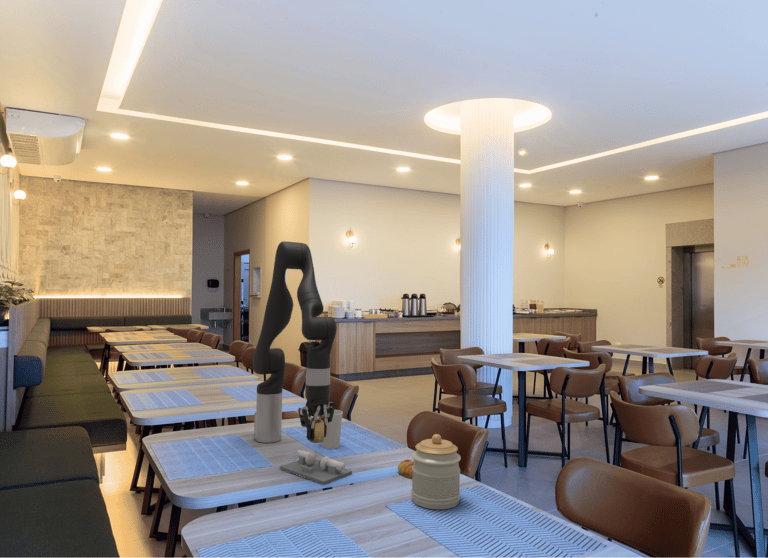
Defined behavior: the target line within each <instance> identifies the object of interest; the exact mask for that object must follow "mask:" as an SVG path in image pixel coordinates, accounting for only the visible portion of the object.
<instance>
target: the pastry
mask: <svg viewBox="0 0 768 558" xmlns="http://www.w3.org/2000/svg"><path fill="white" fill-rule="evenodd" d="M413 465H414V460H413V461H412V460H411V459H408V458H407V459H404V460H402V461H400V463H399V464H398V465H397V471H398V473H399V474H400V476H403V477H405V478H407V479H410V480H412V466H413Z"/></svg>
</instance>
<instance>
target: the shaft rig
mask: <svg viewBox="0 0 768 558" xmlns="http://www.w3.org/2000/svg"><path fill="white" fill-rule="evenodd" d="M296 457H297V458H298V460H296V461H292V462H289V463H286V464H283V465H280V466H279V470H280V469H281V471H283V470H284V471H283V472H285V471H287V472H286V473H288V472H291V473H294V474H297V475H300V476H302V477H305V478H308V479H310V480H309V481H311V480H312V481H311V482H314V483H317V484H320V485H322V486H325V485H327V484H330V483H333V482H335V481H338V480H340V479H343V478H346V477H348V476H351V475H353V470H351V469H349V468H348V469H347V468H345V467H346V465H345V463H344V462H341V461H339V460H335V459H332V458H330V457H329V456H323V457H322V458H321V459H319V460H318V459H317V455H316V453H315V452H314V451H305V450H303V449H299V450H297V452H296ZM291 473H290V474H291ZM294 474H293V475H294ZM297 475H296V476H297ZM300 476H299V477H300ZM302 477H301V478H302ZM305 478H304V479H305ZM308 479H307V480H308Z"/></svg>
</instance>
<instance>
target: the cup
mask: <svg viewBox="0 0 768 558" xmlns="http://www.w3.org/2000/svg"><path fill="white" fill-rule="evenodd" d="M343 414H344V413H343V411H342V410H339V409H335V410H334V414H333V419H332V422H329V423H328V425H327V434H326V437H324V441H323V442H321V447H322V448H323V449H327V448H328V449H329V450H331V449H332V448H334V449H337V448H340V447H341V445H340V442H341V432H342V420H343ZM329 415H330V413H329ZM328 417H329V416H328ZM328 449H327V450H328Z"/></svg>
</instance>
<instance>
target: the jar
mask: <svg viewBox="0 0 768 558" xmlns="http://www.w3.org/2000/svg"><path fill="white" fill-rule="evenodd" d="M415 449H416V450H415V451H414V452H413V453H412V454H411V456H412V459H413V461H414V465H413V466H412V479H411V483H412V485H411V490H410V491H411V493H410V494H411V500H412V502H413V503H414V504H415V505H417V506H419V507H421V508H425V509H429V510H447V509H452V508H455V507H456V506H458V504H459V503H460V499H461V491H460V487H461V485H460V482H461V481H460V479H461V468H460V465H459V462H461V459H462V458H461V455H460V454H459V453H457V452H458V451H459V449H458V446H456V445H455V444H453V442H452V441H450V440H447V439H442V436H441V435H440V434H439V433H435V434H433V435H432V436H431V438H426V439H422V441H420V442H419V443H417V444H416V445H415Z"/></svg>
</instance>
